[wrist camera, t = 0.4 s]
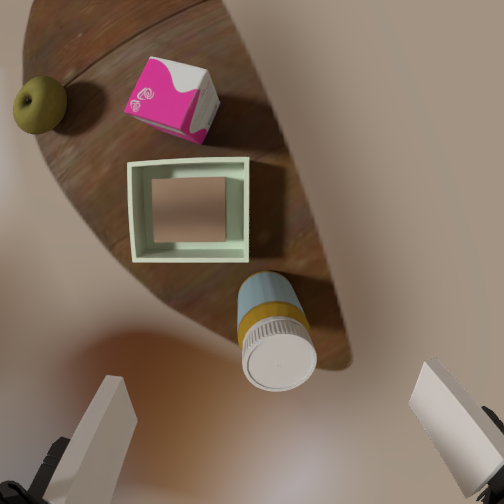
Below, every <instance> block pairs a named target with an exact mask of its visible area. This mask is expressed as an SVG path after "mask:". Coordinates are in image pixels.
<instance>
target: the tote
mask: <svg viewBox="0 0 504 504" xmlns="http://www.w3.org/2000/svg"><path fill="white" fill-rule="evenodd" d="M189 177H226V217H227V237H226V241H225V242H154V230H153V209H152V179H166V178H189ZM127 178H128V209H129V227H130V240H131V252H132V262H249V157H209V158H183V159H165V160H151V161H139V162H128V163H127Z"/></svg>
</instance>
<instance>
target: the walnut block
mask: <svg viewBox="0 0 504 504" xmlns="http://www.w3.org/2000/svg"><path fill="white" fill-rule="evenodd" d="M152 209H153V230H154V242H225V241H226V237H227V217H226V177H189V178H166V179H152Z"/></svg>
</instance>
